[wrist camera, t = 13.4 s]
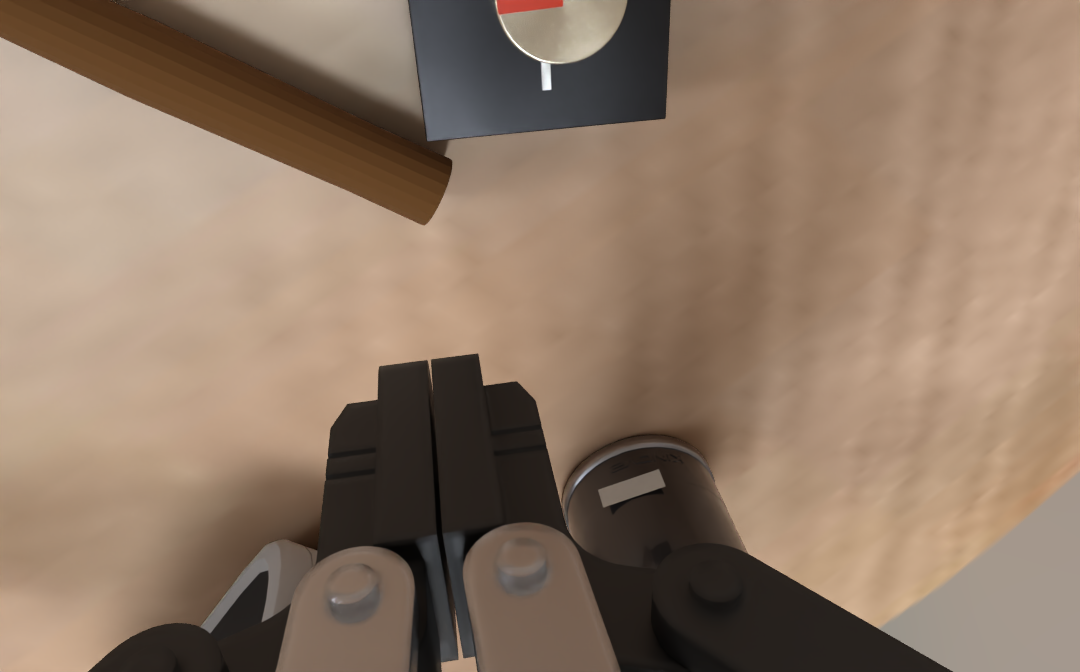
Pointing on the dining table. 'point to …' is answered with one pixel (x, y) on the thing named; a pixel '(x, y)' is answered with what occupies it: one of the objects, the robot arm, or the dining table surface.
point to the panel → (533, 73)
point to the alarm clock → (261, 588)
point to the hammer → (229, 99)
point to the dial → (559, 26)
